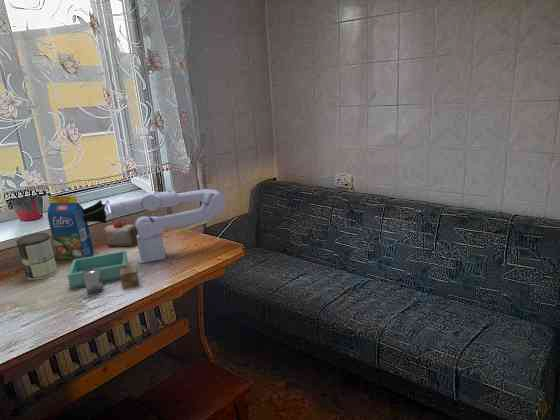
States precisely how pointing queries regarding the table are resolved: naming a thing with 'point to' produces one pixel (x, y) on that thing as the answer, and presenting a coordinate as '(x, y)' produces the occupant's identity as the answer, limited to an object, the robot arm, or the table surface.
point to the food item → (121, 234)
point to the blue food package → (69, 228)
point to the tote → (105, 263)
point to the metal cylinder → (93, 280)
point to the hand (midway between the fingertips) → (83, 215)
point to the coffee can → (37, 256)
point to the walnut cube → (129, 277)
